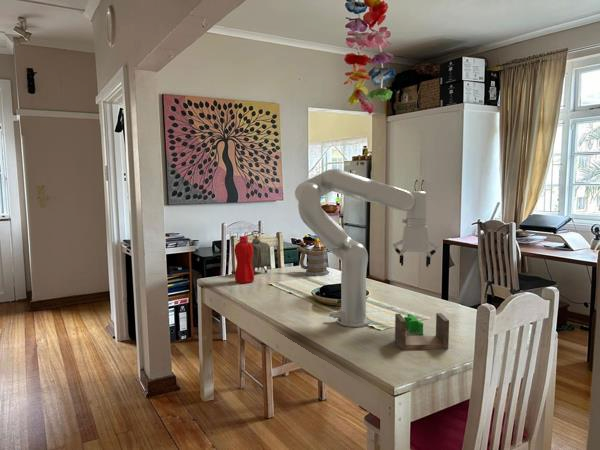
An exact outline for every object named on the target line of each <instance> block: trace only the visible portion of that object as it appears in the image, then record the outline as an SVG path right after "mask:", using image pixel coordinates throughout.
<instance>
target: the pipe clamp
mask: <svg viewBox="0 0 600 450" xmlns="http://www.w3.org/2000/svg"><path fill="white" fill-rule="evenodd" d="M403 318H404V319H405V321H406V330H408V333H410V334H412V333H413V334H414V333H416V334H418V336H424V323H423V322H422V321H421V320H419V319H418V318H417V317H416V316H414V315H413V314H411V313H408V314H407V316H404V317H403Z"/></svg>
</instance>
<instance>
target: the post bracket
mask: <svg viewBox="0 0 600 450" xmlns="http://www.w3.org/2000/svg"><path fill="white" fill-rule="evenodd" d="M394 316H395V318H394V320H395V321H394V325H395V326H394V328H395V329H394V342H395V343H396V344H397V346H398V347H399V349H400V350H433V349H434V350H437V349H439V350H442V349H444V350H447V349H449V340H450V320H449V319H448V318H447V317H446V316H445V315H444V314H443V313H441V312H436V315H435V318H436V320H435V335H407V331H406V330H407V329H406V321H405V319H404V317H403V316H402V315H401V313H395V315H394Z"/></svg>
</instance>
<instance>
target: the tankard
mask: <svg viewBox="0 0 600 450" xmlns="http://www.w3.org/2000/svg"><path fill="white" fill-rule="evenodd" d="M327 250H328V249H327ZM327 250H326V249H325V248H310V249H306V248H305V249H304V248H303V247H301V246H299V247H296V251H297V252H299V251H300V252H301V255H300V258H299V265H300V267H301V269H303V270H305V274H306V275H308V276H313V277H317V276H318V277H320V276H322V277H323V276H326V275H329V274H330V271H329V270H328V269H327V268H328V266H329V263H328V262H327V259H328V257H329V256H328V253H327ZM305 257H306V259H307V262H306V265H305V264H304V262H305Z"/></svg>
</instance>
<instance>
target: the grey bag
mask: <svg viewBox="0 0 600 450" xmlns="http://www.w3.org/2000/svg"><path fill="white" fill-rule="evenodd" d="M254 233H258V234H259V236H258V235H254ZM251 236H252V237H253V239H252V241H251V242H250V243H251V244H252V246H253V250H254V251H253V256H252V267H253V271H254V274H255V273H256V269H259V268H262V269H263V270H264V273H265V274H266V273H268V270H266V268H265V267H268V266H270V263H271V251H270V250H271V249H270V245H269V244H268V243H267V242H262V241H261V239H260V237H261V232H259V231H258V230H253V231H252V232H251Z"/></svg>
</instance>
